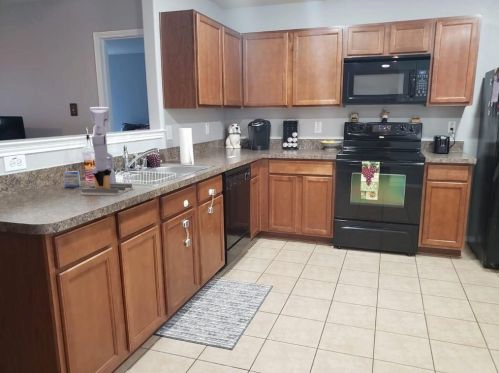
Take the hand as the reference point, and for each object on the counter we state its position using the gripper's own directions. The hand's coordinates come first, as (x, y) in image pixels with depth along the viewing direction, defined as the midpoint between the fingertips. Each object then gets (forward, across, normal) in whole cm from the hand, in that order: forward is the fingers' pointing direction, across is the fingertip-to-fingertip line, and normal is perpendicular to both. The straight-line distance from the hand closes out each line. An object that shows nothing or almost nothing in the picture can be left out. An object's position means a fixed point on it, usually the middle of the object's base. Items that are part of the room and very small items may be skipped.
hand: (103, 185), depth 197 cm
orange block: (+2, 0, 0) cm, 2 cm away
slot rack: (+4, -4, 0) cm, 5 cm away
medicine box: (+4, -16, -29) cm, 33 cm away
